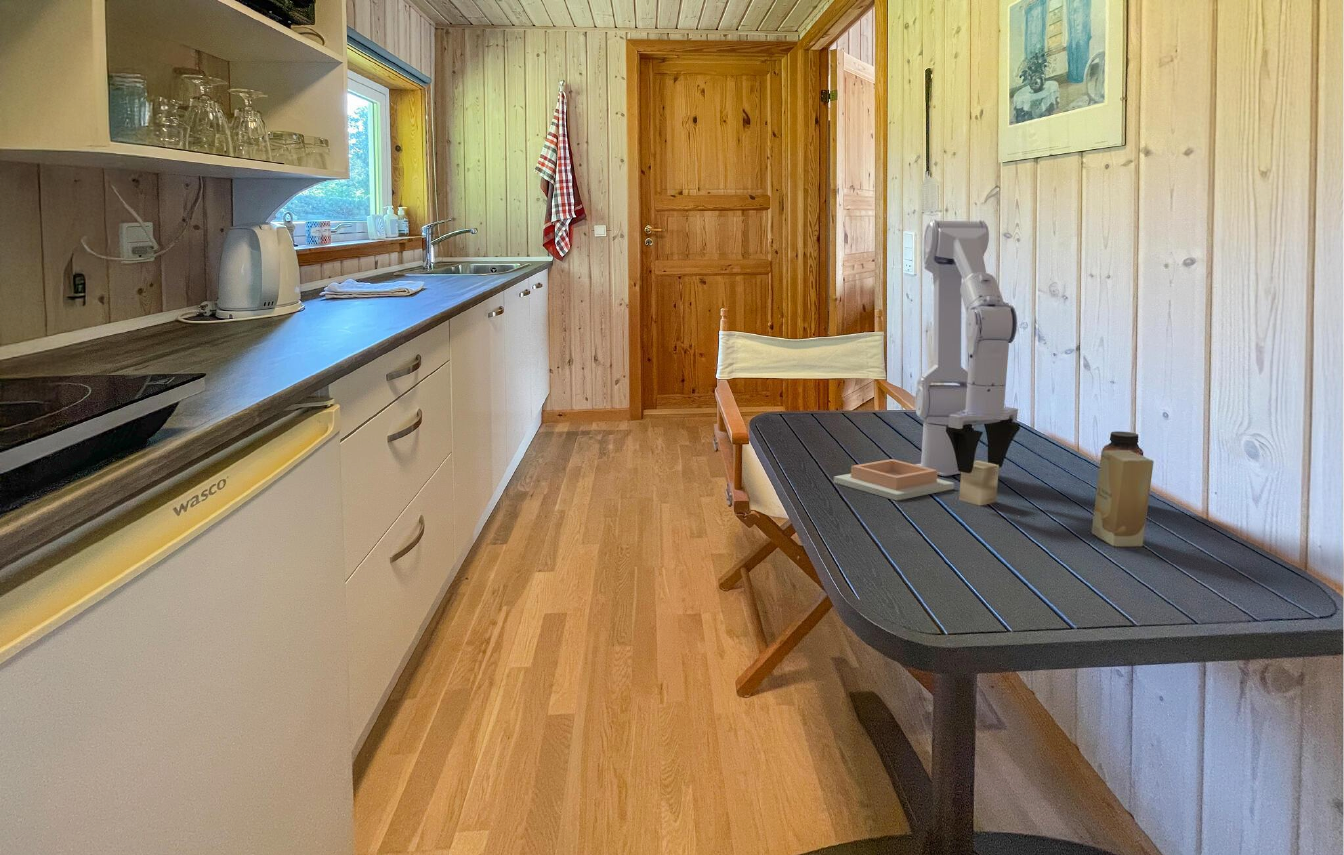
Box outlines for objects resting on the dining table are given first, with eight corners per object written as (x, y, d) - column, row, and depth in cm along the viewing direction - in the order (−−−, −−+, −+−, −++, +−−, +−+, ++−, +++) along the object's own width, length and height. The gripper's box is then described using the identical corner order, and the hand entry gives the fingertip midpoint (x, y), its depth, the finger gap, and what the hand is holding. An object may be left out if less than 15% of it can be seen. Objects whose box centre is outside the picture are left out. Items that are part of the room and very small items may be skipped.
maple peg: (974, 496, 156) (977, 460, 155) (995, 502, 153) (999, 465, 152) (959, 499, 154) (961, 463, 153) (979, 505, 150) (982, 468, 149)
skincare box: (1090, 533, 136) (1098, 449, 134) (1119, 533, 137) (1128, 449, 134) (1114, 547, 130) (1123, 459, 128) (1145, 547, 131) (1155, 459, 128)
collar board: (890, 472, 172) (891, 455, 171) (953, 488, 161) (955, 471, 160) (833, 482, 164) (834, 465, 163) (896, 500, 153) (897, 482, 152)
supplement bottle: (1142, 509, 150) (1150, 438, 148) (1101, 506, 151) (1108, 435, 149) (1132, 499, 155) (1139, 430, 153) (1093, 497, 157) (1100, 428, 154)
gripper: (978, 390, 142) (971, 479, 145) (1037, 383, 151) (1029, 468, 153) (940, 384, 148) (934, 470, 150) (998, 378, 156) (992, 460, 159)
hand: (980, 469), depth 152 cm, fingers open, 7 cm apart
